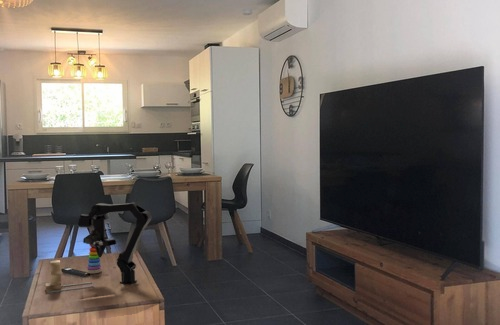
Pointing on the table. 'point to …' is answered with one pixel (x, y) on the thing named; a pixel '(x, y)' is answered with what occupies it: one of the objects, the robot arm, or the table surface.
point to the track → (73, 288)
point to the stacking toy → (93, 261)
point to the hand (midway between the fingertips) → (100, 257)
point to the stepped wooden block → (54, 276)
